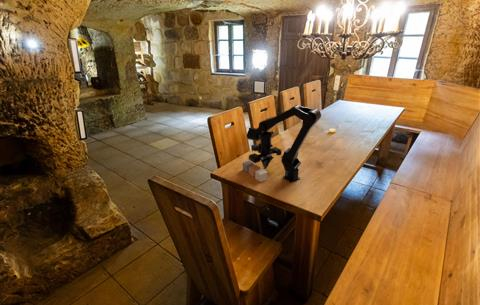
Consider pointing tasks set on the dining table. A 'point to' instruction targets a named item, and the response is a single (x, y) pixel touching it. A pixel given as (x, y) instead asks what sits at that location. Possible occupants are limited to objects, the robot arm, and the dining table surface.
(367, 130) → the dining table surface
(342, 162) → the dining table surface
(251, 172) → the terracotta cube
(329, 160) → the dining table surface
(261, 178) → the white cube
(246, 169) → the grey cube
